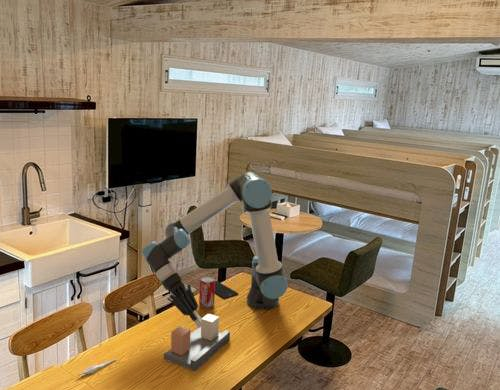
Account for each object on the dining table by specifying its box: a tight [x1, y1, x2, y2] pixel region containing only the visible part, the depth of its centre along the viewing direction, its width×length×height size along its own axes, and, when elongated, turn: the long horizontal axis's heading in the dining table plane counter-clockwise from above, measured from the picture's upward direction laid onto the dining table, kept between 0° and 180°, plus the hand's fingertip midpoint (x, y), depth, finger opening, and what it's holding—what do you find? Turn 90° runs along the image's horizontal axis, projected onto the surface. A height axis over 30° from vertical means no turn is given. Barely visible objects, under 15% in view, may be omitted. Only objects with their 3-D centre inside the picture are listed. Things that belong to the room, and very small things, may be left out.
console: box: [163, 327, 231, 372], centre depth 174 cm, size 14×24×4 cm, turn 152°
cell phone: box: [214, 280, 239, 300], centre depth 226 cm, size 9×18×1 cm, turn 41°
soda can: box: [198, 275, 216, 309], centre depth 209 cm, size 7×7×13 cm
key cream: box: [201, 313, 220, 341], centre depth 179 cm, size 5×5×8 cm
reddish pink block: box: [170, 325, 191, 355], centre depth 169 cm, size 5×5×8 cm
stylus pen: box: [78, 359, 118, 376], centre depth 160 cm, size 15×3×2 cm, turn 139°
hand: (201, 325), depth 181 cm, fingers closed
